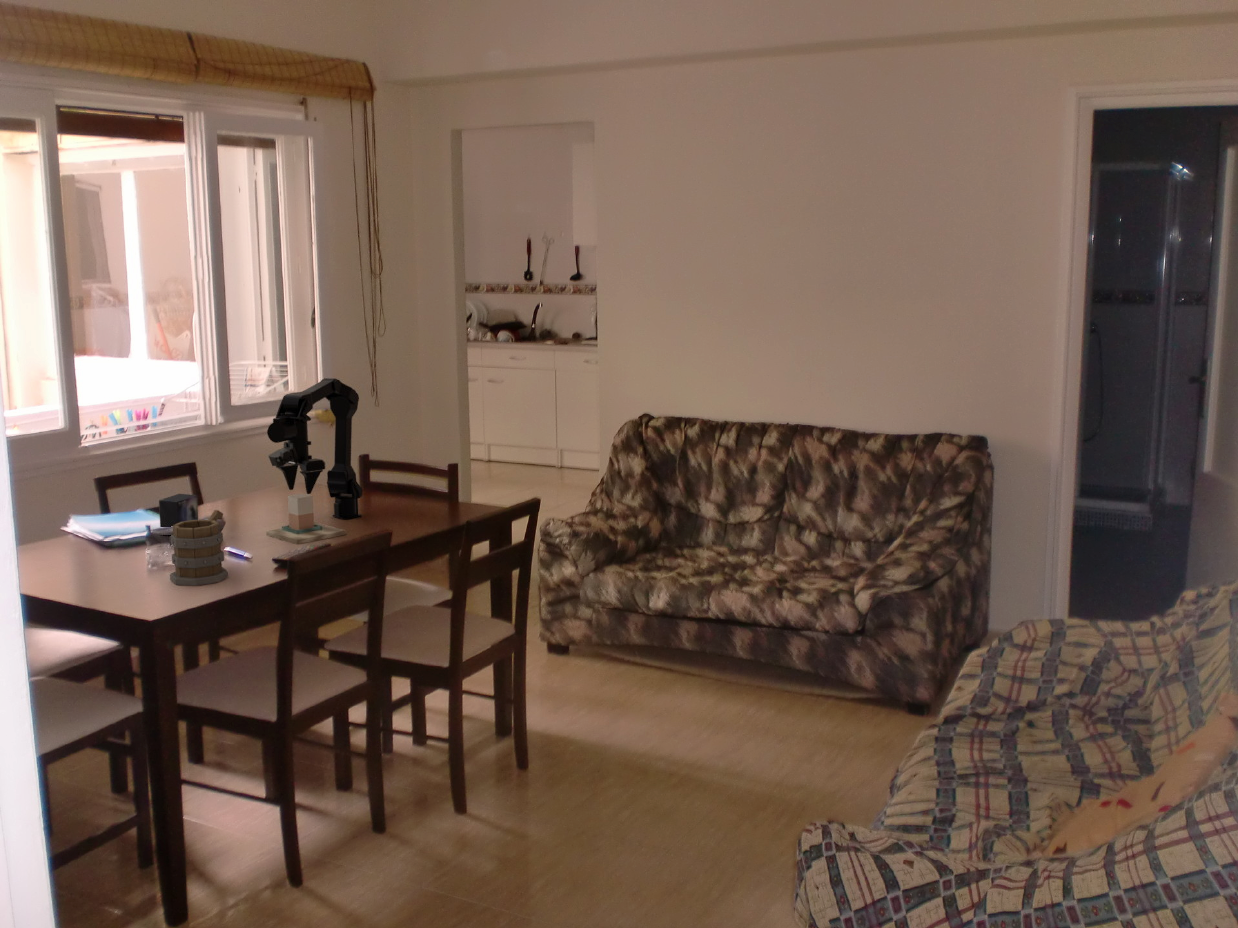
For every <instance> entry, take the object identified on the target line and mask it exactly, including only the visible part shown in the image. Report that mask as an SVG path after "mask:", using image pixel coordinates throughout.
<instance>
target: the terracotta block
mask: <svg viewBox="0 0 1238 928" xmlns="http://www.w3.org/2000/svg"><path fill="white" fill-rule="evenodd" d="M314 514H315V513H314V512H313V513H309V514H304V515H294V514H291V513H289V512H288V521H289V524H288V525H289V528H292V529H295V530H302V529H307V528H313V527H314V522H315V517H314V516H315V515H314Z"/></svg>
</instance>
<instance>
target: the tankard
mask: <svg viewBox="0 0 1238 928" xmlns="http://www.w3.org/2000/svg"><path fill="white" fill-rule="evenodd" d="M211 513H212V514H211V515H210V516H209V518H208V519H198V520H190V521H183V522H180V523H177V524H175V525H173V534H172V535H171V536H169V537H170V545H172V546H173V553H172V554H171V563H172V565H174V567H175V571H173V572H171V573H170V574H169V580H170V581H171V582H173V583H174V584H175V585H176V586H185V587H186V586H188V587H190V586H191V587H198V586H206V585H210V584H211V585H212V584H217V583H219V582H221V581H223V580H226V579H227V578H229V570H227V569H226V568H224V567H223V566H222V565H223V562H224V561H225V552H224V551H223V550H222V549H221V547H222V546H221V543H223V542H224V533H223V532H222V531H220V530H221V529H220V528H221V527H220V523H219V522H218V520H222V519H223V516H224V513H223V512H222V511H220V510H219V509H215V510H213V512H211Z"/></svg>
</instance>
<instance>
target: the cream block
mask: <svg viewBox="0 0 1238 928" xmlns="http://www.w3.org/2000/svg"><path fill="white" fill-rule="evenodd" d="M313 496H314V495H311V494H307V493H297V494H293V495H287V502H288V503H287V504H288V506H287V507H288V514H289V513H291V514H294V515H304V514H309V513H314V497H313Z"/></svg>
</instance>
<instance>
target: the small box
mask: <svg viewBox="0 0 1238 928" xmlns="http://www.w3.org/2000/svg"><path fill="white" fill-rule="evenodd" d="M158 506H159V507H158V508H159V509H158V511H159V528H160V527H171V526H173V525H175V524H177V523H180V522H183V521H190V520H198V521H199V509H198V507H199V506H198V494H187V493H186V494H185V493H177V494H174V495H171V496H168V497H165V498H161V499H159V500H158Z"/></svg>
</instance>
